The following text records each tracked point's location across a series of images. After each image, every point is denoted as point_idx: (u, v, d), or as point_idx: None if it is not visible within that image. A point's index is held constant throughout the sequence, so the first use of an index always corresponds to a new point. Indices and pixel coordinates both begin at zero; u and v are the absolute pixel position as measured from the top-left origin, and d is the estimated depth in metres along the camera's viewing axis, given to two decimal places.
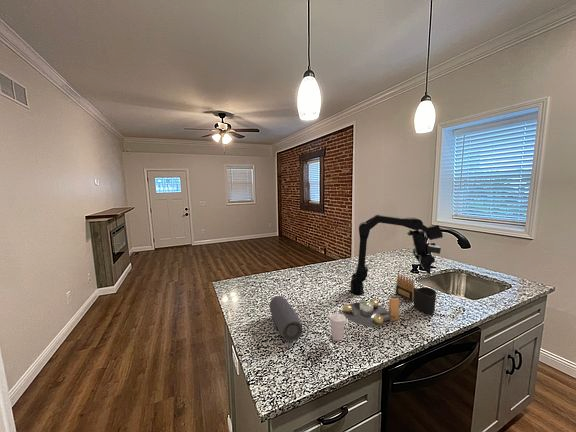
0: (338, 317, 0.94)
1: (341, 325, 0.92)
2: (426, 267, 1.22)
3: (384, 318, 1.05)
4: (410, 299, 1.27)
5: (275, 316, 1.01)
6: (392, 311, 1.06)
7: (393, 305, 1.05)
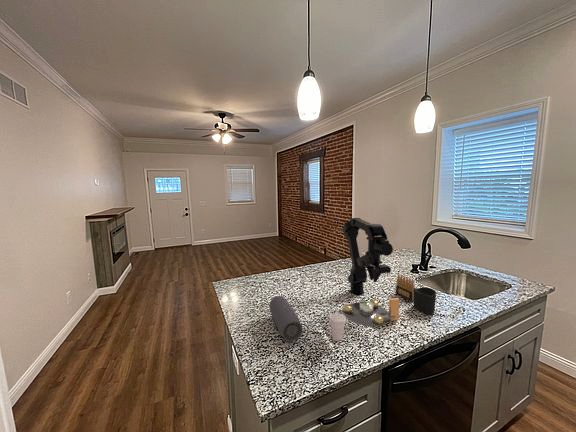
0: (338, 317, 0.94)
1: (341, 325, 0.92)
2: None
3: (384, 318, 1.05)
4: (410, 299, 1.27)
5: (275, 316, 1.01)
6: (392, 311, 1.06)
7: (393, 305, 1.05)
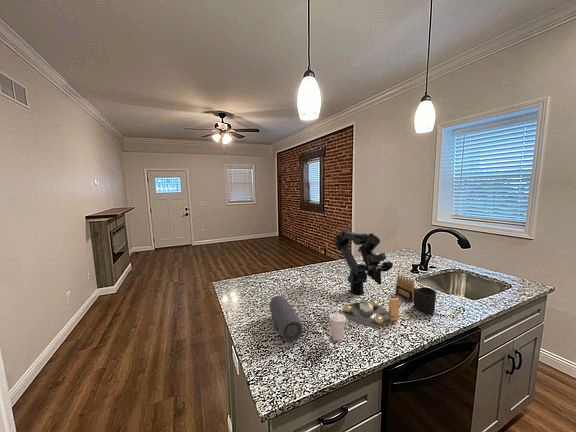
0: (338, 317, 0.94)
1: (341, 325, 0.92)
2: (373, 277, 1.18)
3: (384, 318, 1.05)
4: (410, 299, 1.27)
5: (275, 316, 1.01)
6: (392, 311, 1.06)
7: (393, 305, 1.05)
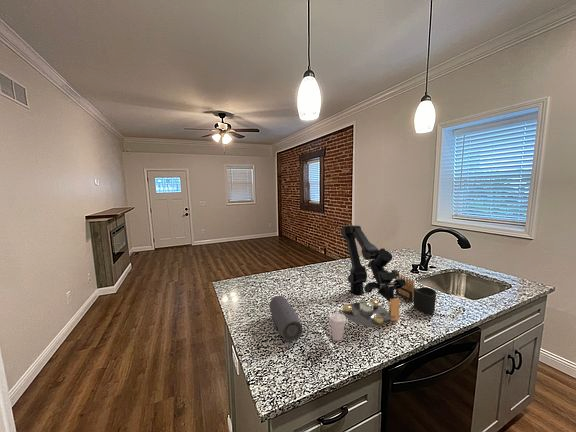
0: (338, 317, 0.94)
1: (341, 325, 0.92)
2: (385, 296, 1.09)
3: (384, 318, 1.05)
4: (410, 299, 1.27)
5: (275, 316, 1.01)
6: (392, 312, 1.06)
7: (393, 305, 1.05)
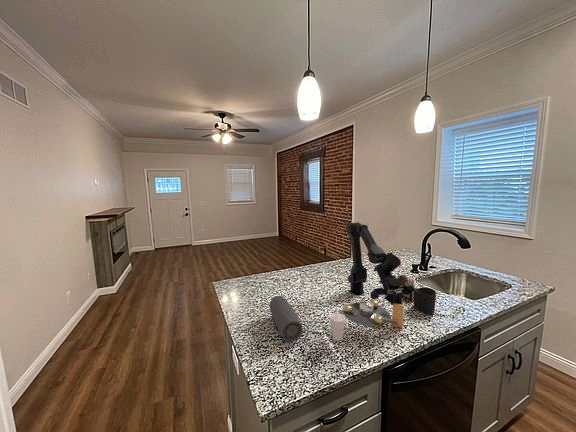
0: (338, 317, 0.94)
1: (341, 325, 0.92)
2: None
3: (384, 320, 1.03)
4: (410, 299, 1.27)
5: (275, 316, 1.01)
6: (394, 317, 1.02)
7: (395, 310, 1.01)
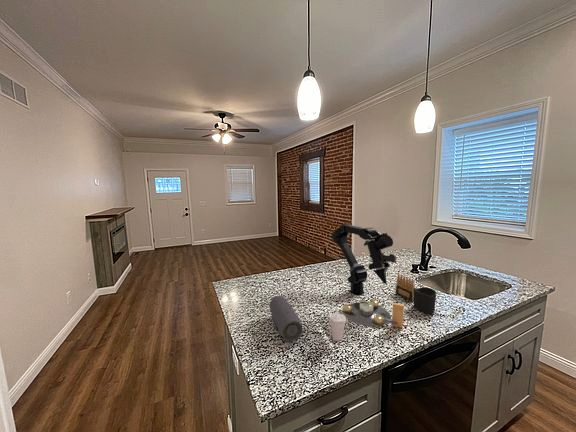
0: (338, 317, 0.94)
1: (341, 325, 0.92)
2: (380, 275, 1.19)
3: (384, 320, 1.03)
4: (410, 299, 1.27)
5: (275, 316, 1.01)
6: (394, 317, 1.02)
7: (395, 310, 1.01)
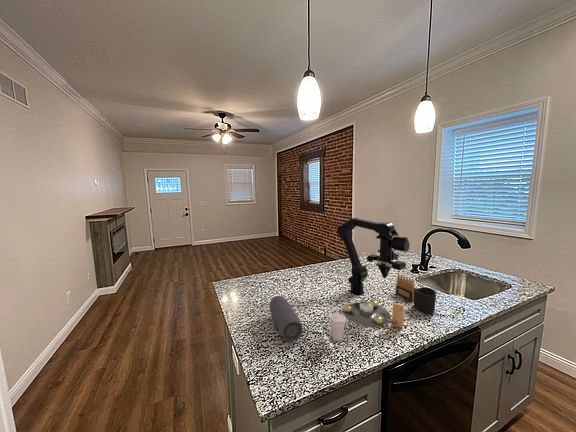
0: (338, 317, 0.94)
1: (341, 325, 0.92)
2: (386, 271, 1.23)
3: (384, 320, 1.03)
4: (410, 299, 1.27)
5: (275, 316, 1.01)
6: (394, 317, 1.02)
7: (395, 310, 1.01)
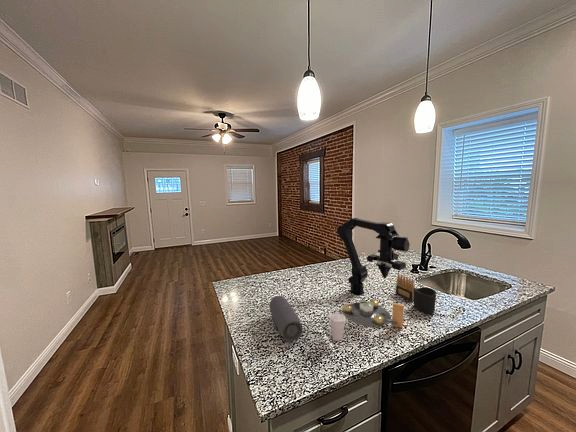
0: (338, 317, 0.94)
1: (341, 325, 0.92)
2: (386, 271, 1.23)
3: (384, 320, 1.03)
4: (410, 299, 1.27)
5: (275, 316, 1.01)
6: (394, 317, 1.02)
7: (395, 310, 1.01)
